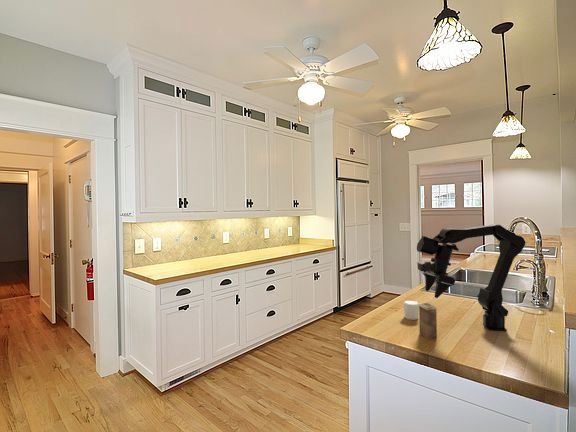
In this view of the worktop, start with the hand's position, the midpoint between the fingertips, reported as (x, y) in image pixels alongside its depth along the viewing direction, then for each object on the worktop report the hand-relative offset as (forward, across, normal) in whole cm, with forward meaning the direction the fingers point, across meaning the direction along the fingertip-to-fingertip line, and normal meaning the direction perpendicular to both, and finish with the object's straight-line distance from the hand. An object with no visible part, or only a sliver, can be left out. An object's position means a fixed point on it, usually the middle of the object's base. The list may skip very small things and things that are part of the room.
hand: (431, 294), depth 126 cm
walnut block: (+15, +7, 0) cm, 17 cm away
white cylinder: (+15, -12, 0) cm, 19 cm away
